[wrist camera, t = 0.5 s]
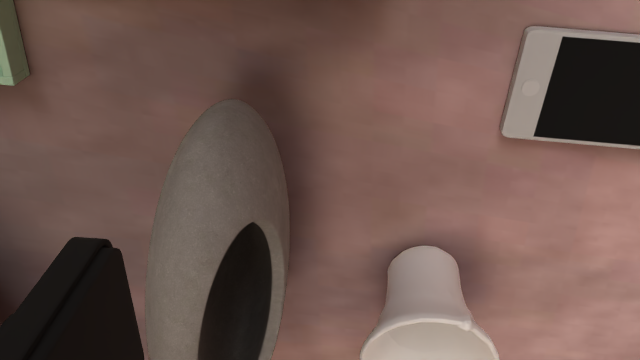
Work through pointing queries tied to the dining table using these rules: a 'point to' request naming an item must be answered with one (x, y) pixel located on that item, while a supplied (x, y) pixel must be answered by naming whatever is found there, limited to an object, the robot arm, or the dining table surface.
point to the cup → (426, 313)
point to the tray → (11, 46)
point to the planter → (219, 242)
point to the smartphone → (575, 88)
